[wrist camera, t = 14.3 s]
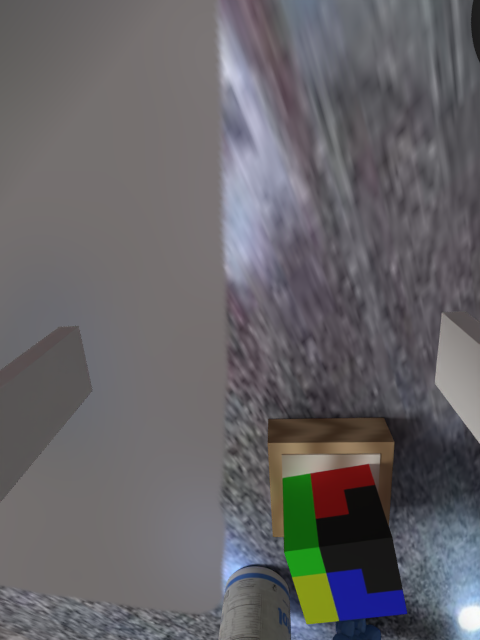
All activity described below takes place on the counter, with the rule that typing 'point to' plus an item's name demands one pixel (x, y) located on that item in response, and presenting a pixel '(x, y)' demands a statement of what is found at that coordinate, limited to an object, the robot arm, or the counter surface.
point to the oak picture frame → (327, 454)
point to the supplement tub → (256, 606)
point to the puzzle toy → (340, 546)
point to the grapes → (356, 630)
